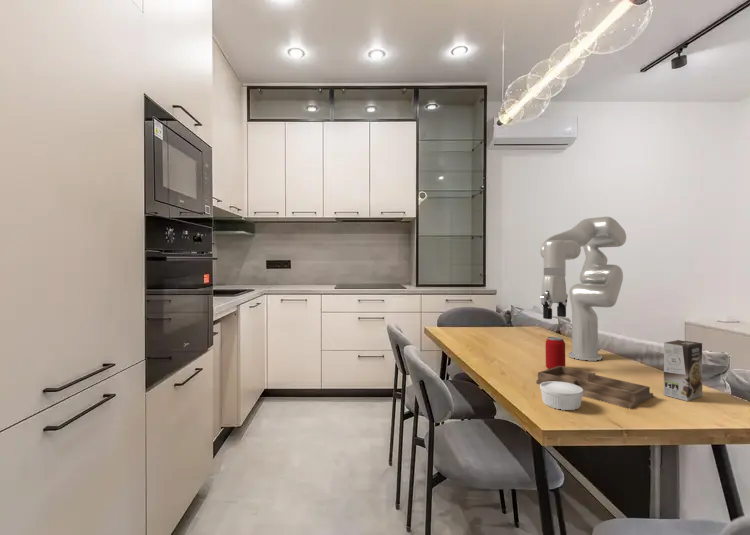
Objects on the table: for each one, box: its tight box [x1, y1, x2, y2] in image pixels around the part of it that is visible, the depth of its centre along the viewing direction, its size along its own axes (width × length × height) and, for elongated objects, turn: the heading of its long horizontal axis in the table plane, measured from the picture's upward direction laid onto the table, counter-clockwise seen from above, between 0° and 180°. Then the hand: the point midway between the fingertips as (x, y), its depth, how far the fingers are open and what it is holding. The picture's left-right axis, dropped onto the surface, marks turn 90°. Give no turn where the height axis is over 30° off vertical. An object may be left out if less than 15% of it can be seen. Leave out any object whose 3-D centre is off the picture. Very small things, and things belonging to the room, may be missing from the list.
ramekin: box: [539, 381, 583, 411], centre depth 106 cm, size 11×11×5 cm
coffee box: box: [663, 339, 703, 402], centre depth 112 cm, size 9×6×16 cm
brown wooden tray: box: [535, 366, 654, 410], centre depth 118 cm, size 28×16×4 cm, turn 35°
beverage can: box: [545, 336, 566, 370], centre depth 141 cm, size 7×7×12 cm
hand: (554, 317), depth 141 cm, fingers open, 9 cm apart
